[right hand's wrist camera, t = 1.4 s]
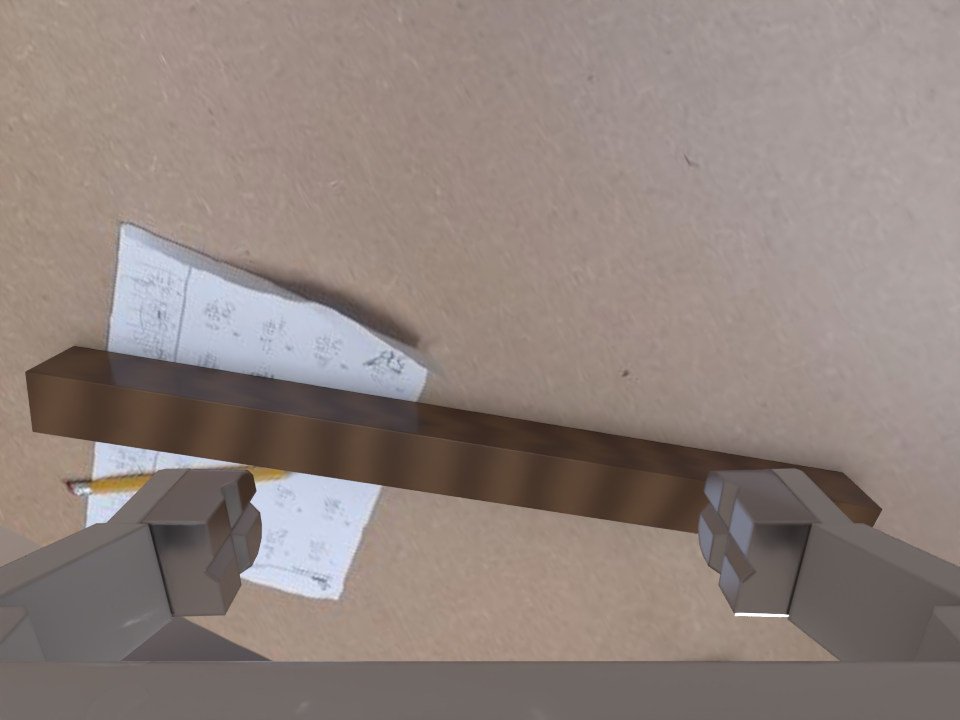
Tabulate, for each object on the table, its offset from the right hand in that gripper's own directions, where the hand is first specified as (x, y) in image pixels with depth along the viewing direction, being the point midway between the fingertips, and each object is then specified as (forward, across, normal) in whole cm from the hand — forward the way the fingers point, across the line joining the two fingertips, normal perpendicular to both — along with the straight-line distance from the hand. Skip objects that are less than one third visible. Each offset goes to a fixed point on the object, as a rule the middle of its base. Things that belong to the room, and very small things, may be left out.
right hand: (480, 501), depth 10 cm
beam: (+37, +1, +20) cm, 42 cm away
